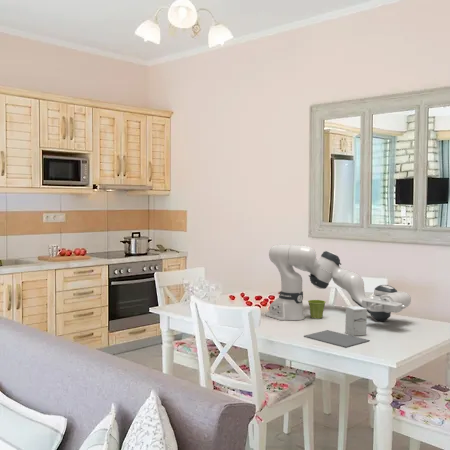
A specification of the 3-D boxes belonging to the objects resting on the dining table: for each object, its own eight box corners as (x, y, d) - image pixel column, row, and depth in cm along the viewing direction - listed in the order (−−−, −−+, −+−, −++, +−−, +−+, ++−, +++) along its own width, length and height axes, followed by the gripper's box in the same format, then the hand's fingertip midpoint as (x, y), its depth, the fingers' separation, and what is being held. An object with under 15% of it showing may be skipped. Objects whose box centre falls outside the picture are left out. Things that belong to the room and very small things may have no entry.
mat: (303, 336, 253) (303, 335, 253) (327, 331, 264) (327, 330, 264) (345, 347, 235) (345, 346, 235) (369, 341, 246) (369, 340, 246)
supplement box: (352, 336, 254) (353, 309, 254) (344, 332, 262) (345, 306, 261) (366, 335, 256) (367, 308, 256) (358, 331, 264) (359, 305, 263)
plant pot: (328, 318, 292) (329, 302, 291) (313, 320, 288) (313, 303, 288) (319, 315, 300) (319, 299, 300) (304, 316, 297) (304, 300, 296)
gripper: (407, 313, 267) (391, 317, 258) (371, 306, 282) (355, 310, 273) (407, 300, 266) (391, 304, 257) (371, 294, 282) (355, 298, 273)
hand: (372, 307), depth 266 cm, fingers closed
